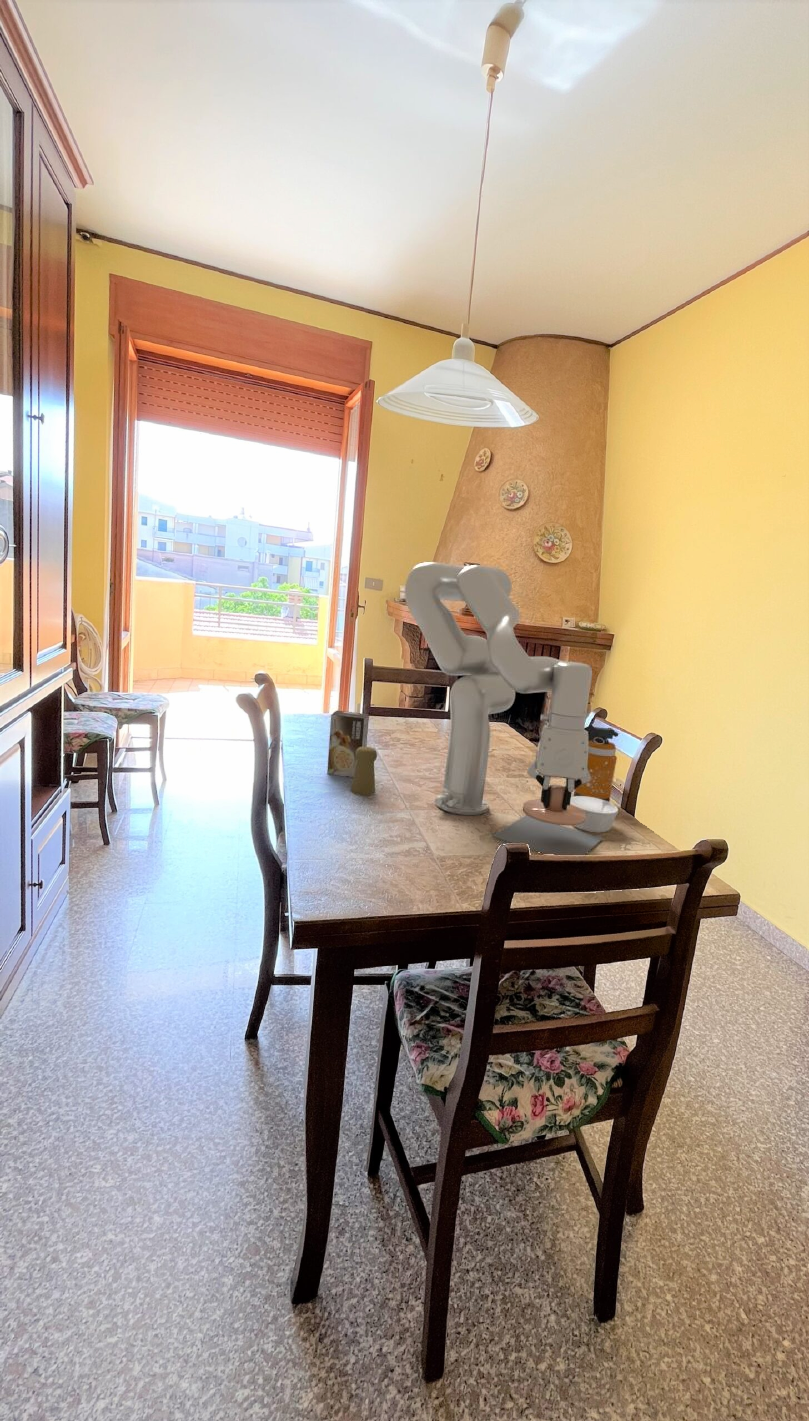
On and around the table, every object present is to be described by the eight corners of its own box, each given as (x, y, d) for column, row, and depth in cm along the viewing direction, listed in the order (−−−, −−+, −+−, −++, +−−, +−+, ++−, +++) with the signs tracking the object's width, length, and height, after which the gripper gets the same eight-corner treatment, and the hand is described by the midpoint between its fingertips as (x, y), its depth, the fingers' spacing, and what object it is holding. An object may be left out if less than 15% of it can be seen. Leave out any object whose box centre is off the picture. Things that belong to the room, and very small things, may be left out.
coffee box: (365, 772, 168) (370, 714, 165) (359, 779, 162) (365, 718, 159) (332, 767, 170) (337, 709, 167) (325, 774, 164) (330, 713, 161)
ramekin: (624, 835, 141) (628, 813, 140) (578, 835, 139) (582, 812, 138) (599, 816, 152) (602, 796, 151) (556, 816, 149) (559, 795, 148)
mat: (574, 865, 122) (574, 863, 122) (491, 837, 132) (491, 835, 132) (602, 839, 137) (602, 838, 137) (526, 816, 147) (526, 815, 147)
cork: (378, 790, 155) (383, 747, 153) (369, 797, 149) (373, 752, 147) (356, 785, 157) (360, 743, 155) (346, 792, 151) (350, 748, 149)
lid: (572, 830, 124) (576, 801, 123) (512, 813, 131) (515, 785, 130) (593, 814, 135) (597, 788, 134) (537, 799, 142) (540, 774, 141)
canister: (613, 809, 158) (626, 732, 155) (569, 805, 158) (581, 728, 155) (603, 797, 167) (615, 724, 163) (561, 793, 167) (572, 720, 163)
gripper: (528, 721, 126) (517, 808, 130) (610, 729, 125) (597, 817, 129) (524, 714, 134) (513, 797, 137) (602, 722, 133) (590, 805, 136)
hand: (554, 806), depth 133 cm, fingers closed on lid, 3 cm apart
